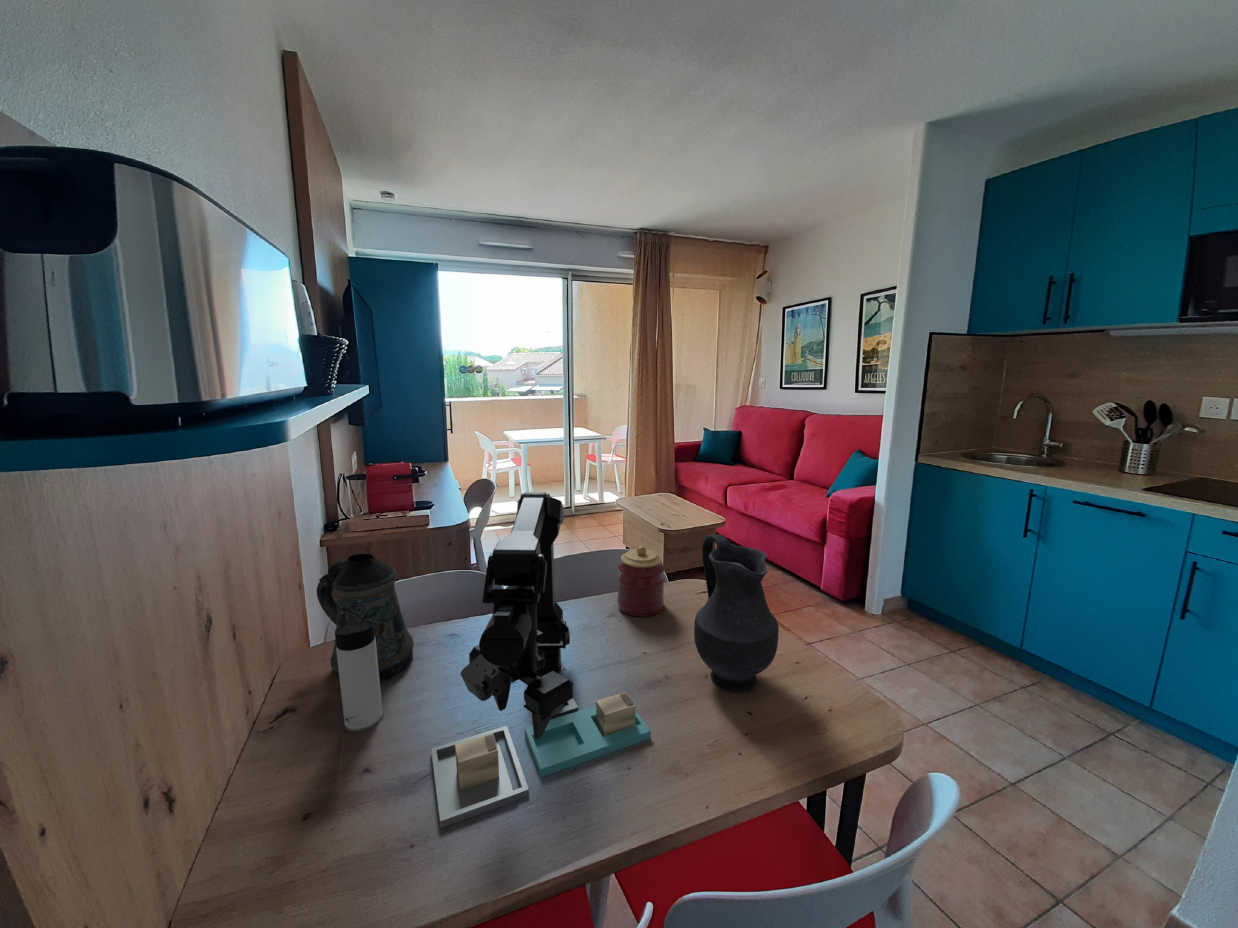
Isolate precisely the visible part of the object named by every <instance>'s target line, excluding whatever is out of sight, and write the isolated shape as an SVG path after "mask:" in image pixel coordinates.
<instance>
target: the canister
mask: <svg viewBox="0 0 1238 928" xmlns="http://www.w3.org/2000/svg"><path fill="white" fill-rule="evenodd" d="M617 569H618V571H619V573H618V575H617V577H616V578H617V598H616V599H617V600H616V601H617V605H618V609H619V610H620V611H621V612H623V613H624V614H627V615H629V616H633V617H641V618H642V617H643V618H644V617H650V616H651V617H652V616H654V615H657V614H659V613H660V612H661V611H662V609H663V607H664V605H665V598H664V583H665V576H664V572H665V570H666V566H665V564H664V563H663V558H662V556H661V555H660V554H658V553H656V551H653V550H652V549H647V548H646V547H645V546H644V545H639V546H638V547H637V548H635V549H634V548H633V549H631V550H628V551H627V552H625V553H623V554H622V555H621V556H620V561H619V563H618V564H617Z"/></svg>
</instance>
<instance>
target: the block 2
mask: <svg viewBox="0 0 1238 928" xmlns="http://www.w3.org/2000/svg"><path fill="white" fill-rule="evenodd" d="M595 703H596V704H595V706H596V726H597V727H598V729H599V731H600V732H601V734H602V736H603V737H604V736H607V735H610V734H613V733H616V732H619V731H622V730H625V729H628V728H631V727H634V726H635V717H636V711H637V710H636V709H637V707H636V704H635V702H634V701H633V699H632V698H631V697H630V696H629V694H628V693H627V692H626V691H624V692H622V693H618V694H615V695H611V696H608V697H604V698H601V699H598V700H596V702H595Z"/></svg>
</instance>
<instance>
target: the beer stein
mask: <svg viewBox="0 0 1238 928" xmlns="http://www.w3.org/2000/svg"><path fill="white" fill-rule="evenodd" d="M397 572H398V571H397V570H396V569H395V568H394V567H392V565H389V564H387V563H385V562H383V561H379V560H378V559H376V558H375V556H374V555H373V554H372V553H356V554H352V555H350V556H348V558H347V560H345V561H344V560H343V561H342V560H341V561H337V562H334V563H333V564H331V565H330V566H329V568H328V569H327V573H326V574H324V575H323V576H322V577H320V578H319V579H318V581H319V582H318V583H317V586H316V596H317V600H318V602H319V605H320V607H321V609H322V611H323V612H324V613H325V615H326V616H327V617H328V619H329V620H330V621H331V622H332V623H333V624H334V625H335V630H336V629H337V628H338V627H340V626H342V625H344V624H347V623H349V624H351V623H355V622H360V621H362V620H369V621H372V622H373V623H374V634H375V640H376V650H377V660H378V671H379V681H380V682H384V681H386V680H389V679H392V678H393V677H395V676H396V675H398V674H400V673H401V672H403V671H405V669H406V668H407V667H408V666H409V665H410V663H411V662H412V661H413V660H414V651H413V648H414V644H415V643H414V639H413V637H412V635H411V634H410V632H409V631H408V630H409V629H408V627H407V626H406V623H405V620H404V617H403V614H402V609H401V605H400V603H399V599H398V594H397V591H396V586H395V583H396V581H397V575H398V573H397ZM333 590H334V592H333ZM334 593H335V594H336V595H337V599H336V597H335V595H334ZM330 656H331V657H330V667H331V670H332V672H333V674H334V677H335V679H336V681H338V682H340V678H339V669H338V660H337V652H336V639H335V638H334V645H333V650H332V653H331V655H330Z"/></svg>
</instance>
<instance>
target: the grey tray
mask: <svg viewBox="0 0 1238 928" xmlns="http://www.w3.org/2000/svg"><path fill="white" fill-rule="evenodd" d="M492 733H493V735H494V738H495V742H496V745H497V748H498V761H499V777H498V778H495V779H492V780H489V781H487V782H484V783H481V784H478V785H475V786H472V787H469V788H466V789H463V790H460V786H459V781H458V775H457V767H456V751H455V745H456V744H459V743H462V742H466V741H469V740H472V739H476V738H479V737H482V736H485V735H489V734H492ZM502 736H503V737H504V740H505V743H506V747H507V749H508V752H509V756H510V759H511V761H512V765H513V768H514V771H515V775H516V777H517V781H518V783H519V786H520V787H519V788H515V789H514V786H513V783H512V780H511V777H510V773H509V770H508V767H507V764H506V763H507V762H506V761H505V756H504V754H503V751H502V748H501V745H500V741H499V737H502ZM512 739H513V738H512V735H511V734H510V730H509V727H508V725H505V726H501V727H498V728H495V729H491V730H488V731H484V732H482V733H481V732H480V733H479V734H474V735H472V736H468V737H465V738H461V739H459V740H455V741H451V742H448V743H445V744H441V745H439V746H435V747H431V749H430V751H431V761H432V769H433V778H434V785H435V794H436V802H437V810H438V811H437V812H438V819H439V824H440V825H439V827H440V829H444V828H447V827H449V826H452V825H455V824H458V823H461V822H463V821H466V820H468V819H471V818H473V817H477V816H479V815H482V814H485V813H488V812H489V811H493V810H495V809H498V808H501V807H504V806H507V805H509V804H512V803H515V802H517V801H518V800H520V799H522V798H525V797H527V796H529V795H530V789H529V787H528V783H527V780H526V778H525V774H524V772H523V768H522V765H521V763H520V760H519V756H518V754H517V751H516V748H515V746H514V743H513V740H512Z"/></svg>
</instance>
